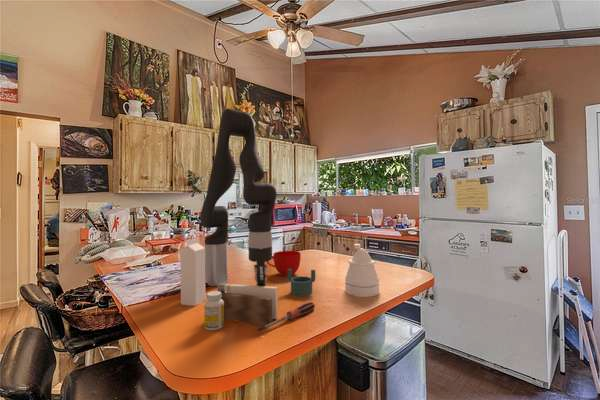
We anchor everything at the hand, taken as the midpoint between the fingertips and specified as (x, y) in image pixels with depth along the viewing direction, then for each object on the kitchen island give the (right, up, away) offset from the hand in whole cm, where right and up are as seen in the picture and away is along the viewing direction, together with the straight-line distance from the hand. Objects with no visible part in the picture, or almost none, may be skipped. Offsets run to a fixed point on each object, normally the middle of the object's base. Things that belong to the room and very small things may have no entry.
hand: (260, 298), depth 94 cm
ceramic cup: (+5, -4, +45) cm, 46 cm away
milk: (-25, -5, +9) cm, 27 cm away
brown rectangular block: (-4, -4, -5) cm, 8 cm away
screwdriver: (+9, -5, -7) cm, 12 cm away
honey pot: (+37, -4, +19) cm, 42 cm away
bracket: (+13, -4, +19) cm, 24 cm away
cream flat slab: (-4, -4, -4) cm, 7 cm away
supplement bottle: (-12, -5, -11) cm, 17 cm away
